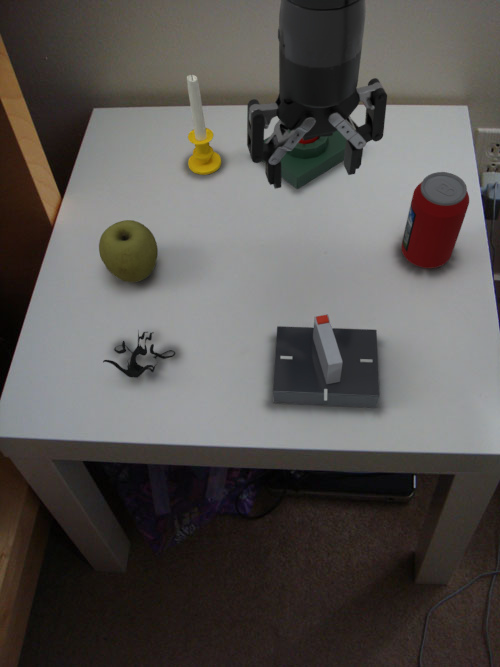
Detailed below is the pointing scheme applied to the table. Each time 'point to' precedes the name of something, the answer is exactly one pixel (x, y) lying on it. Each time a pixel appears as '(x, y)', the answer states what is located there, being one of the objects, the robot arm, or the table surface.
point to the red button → (308, 140)
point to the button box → (312, 159)
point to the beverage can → (435, 219)
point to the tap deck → (307, 376)
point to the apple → (128, 250)
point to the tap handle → (327, 349)
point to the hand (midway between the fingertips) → (312, 176)
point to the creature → (134, 368)
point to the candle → (200, 134)
